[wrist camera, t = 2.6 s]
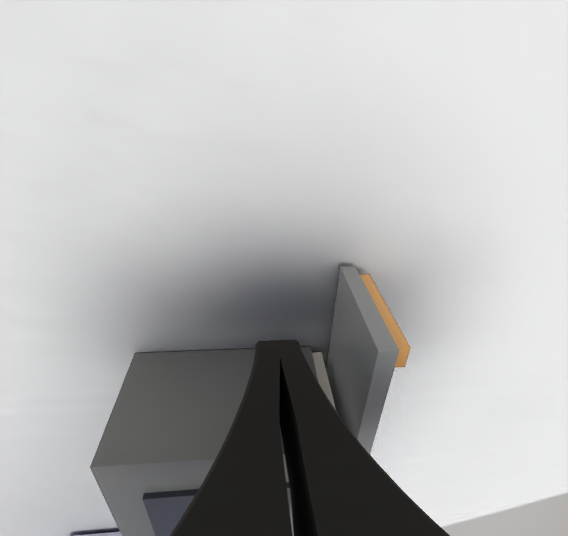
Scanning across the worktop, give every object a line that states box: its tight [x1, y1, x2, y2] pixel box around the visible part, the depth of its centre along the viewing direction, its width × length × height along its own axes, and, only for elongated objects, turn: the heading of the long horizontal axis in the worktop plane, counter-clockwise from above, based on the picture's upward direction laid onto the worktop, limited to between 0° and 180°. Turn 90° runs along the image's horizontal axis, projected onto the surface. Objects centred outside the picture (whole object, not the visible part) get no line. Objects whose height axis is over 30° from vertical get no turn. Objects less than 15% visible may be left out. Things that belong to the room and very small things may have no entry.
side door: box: [326, 266, 411, 454], centre depth 15 cm, size 14×1×5 cm, turn 178°
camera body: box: [90, 346, 336, 536], centre depth 16 cm, size 11×8×6 cm
